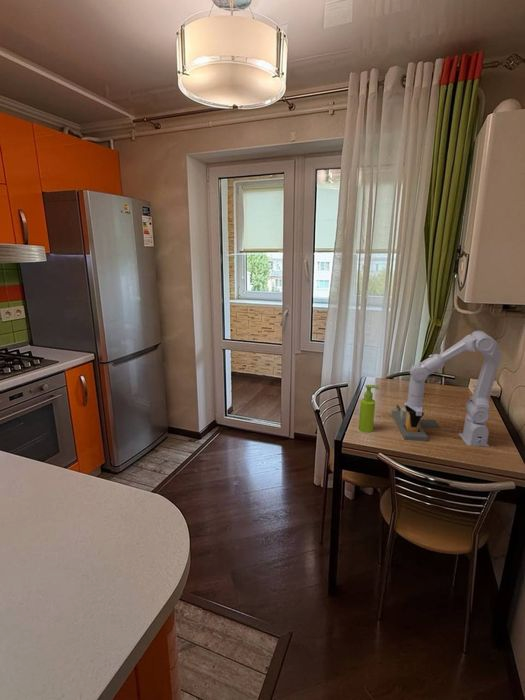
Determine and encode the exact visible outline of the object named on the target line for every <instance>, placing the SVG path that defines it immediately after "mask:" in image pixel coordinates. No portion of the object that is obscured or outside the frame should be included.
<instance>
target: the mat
mask: <svg viewBox="0 0 525 700" xmlns="http://www.w3.org/2000/svg"><path fill="white" fill-rule="evenodd" d="M419 423H420V425H421V427H422V428H428V429H429V428H431V429H441V428H442V427H441V426H440V425H439V424H438V422H437V420H435V419H425V418H421V419H420V421H419Z"/></svg>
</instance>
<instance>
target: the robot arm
mask: <svg viewBox="0 0 525 700" xmlns="http://www.w3.org/2000/svg"><path fill="white" fill-rule="evenodd" d="M476 350H477V351H478V352H480V353H481V354H482V355H483V357H484V358H483V361H482V364H481V369H480V372H479V375H478V379H477V382H476V386H475V388H474V392H473V394H472V395H471V396H470V397H469V400H468V401H467V402H466V403H465V410H466V412H467V413H466V415H465V419H464V425H463V432H458V435H459V437H460V438H461V439H462V440H463V441H464V443H465V444H466V445H467V446H471V447H490V445H489V443H488V440H489V433H490V431H489V429H488V428H487V421H489V419H490V411H489V410H490V400H489V398H490V395H491V394H492V389H493V387H494V383H495V379H496V376H497V372H498V370H499V368H500V367H499V366H500V363H501V360H502V354H501V350H500V348H499V344H498V342H497V341H496V340H495V339H494V338H493V337H492V336H490V335H489V334H487V333H486V332H485V331H483V330H475V331H473V332H471V334H467V335H466V336H465V337H463V338H462V339H461V340H459V341H457V342H456V343H455V344H453V345H452V346H450V347H449V348H448V349H446V350H444V351H443V352H442V353H440V354H439V353H434V354H430V355H428V358H426V359H424V360H423V361H418V363H417V364H413V365H412V366H411V367H410V369H409V374H410V377H409V383H408V393H407V394H408V395H407V399H406V400H407V401H406V402H404V403H403V405H404V408H406V411H407V412H409V414H410V422H411V427H417V425H418V423H419V421H420V419H422V417H423V416H424V415H425V413H424V412H423V401H424V392H425V386H426V385H425V384H426V383H425V382H426V380H427V379H428V376H430V375H431V374H433V373H435V372H437V371H438V370H440V369H441V368H443V367H445V364H446V362H447V361H449V360H451V359H453V358H455V357H457V356H459V355H460V354H462V353H464V352H472V353H474V352H475V353H476Z"/></svg>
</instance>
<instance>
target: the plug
mask: <svg viewBox="0 0 525 700" xmlns="http://www.w3.org/2000/svg"><path fill="white" fill-rule="evenodd" d="M418 426H419V423H418V425H417V427H411V422H410V414H409V412H407V415H406V424H405V427H406V429H407V431H411V432H418Z"/></svg>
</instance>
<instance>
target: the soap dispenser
mask: <svg viewBox="0 0 525 700" xmlns="http://www.w3.org/2000/svg"><path fill="white" fill-rule="evenodd" d="M365 388H366V391H365V392H364V394H363V398H361V399H360V405H359V419H358V430H359V431H360V432H363V433H366V434H367V433H372V432H373V431H374V421H375V412H376V411H375V408H376V401H375V400H374V399H373V392H372V389H377V390H378V389H380V386H379V385H375V384H365Z"/></svg>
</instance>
